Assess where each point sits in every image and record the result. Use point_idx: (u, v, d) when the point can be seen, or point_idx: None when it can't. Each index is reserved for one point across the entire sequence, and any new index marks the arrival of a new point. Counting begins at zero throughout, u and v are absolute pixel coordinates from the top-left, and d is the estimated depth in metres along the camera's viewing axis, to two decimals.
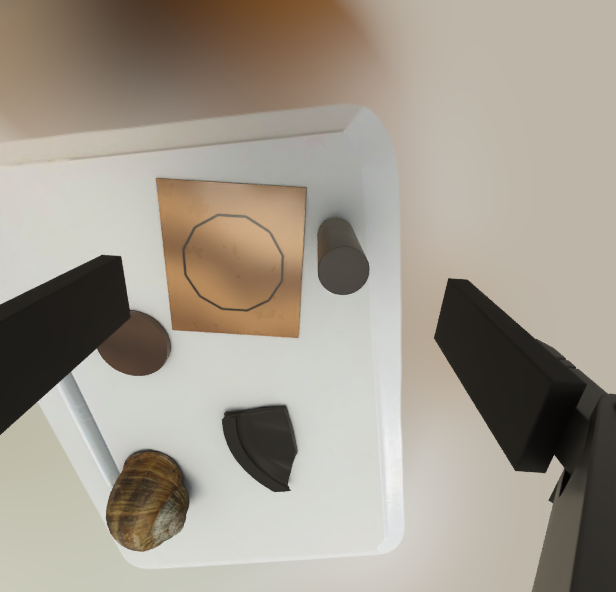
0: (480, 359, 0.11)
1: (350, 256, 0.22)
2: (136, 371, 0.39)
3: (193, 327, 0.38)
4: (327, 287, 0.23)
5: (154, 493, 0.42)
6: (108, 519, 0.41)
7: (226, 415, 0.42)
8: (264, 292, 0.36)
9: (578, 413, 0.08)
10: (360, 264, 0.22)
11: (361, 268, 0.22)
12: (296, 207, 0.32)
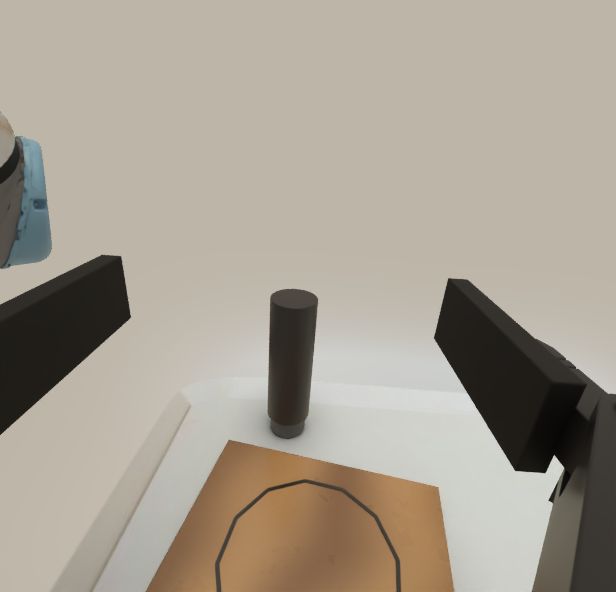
0: (480, 359, 0.11)
1: (281, 294, 0.25)
2: None
3: None
4: (308, 306, 0.23)
5: None
6: None
7: None
8: (361, 519, 0.22)
9: (578, 413, 0.08)
10: (290, 291, 0.26)
11: (294, 291, 0.26)
12: (246, 453, 0.26)
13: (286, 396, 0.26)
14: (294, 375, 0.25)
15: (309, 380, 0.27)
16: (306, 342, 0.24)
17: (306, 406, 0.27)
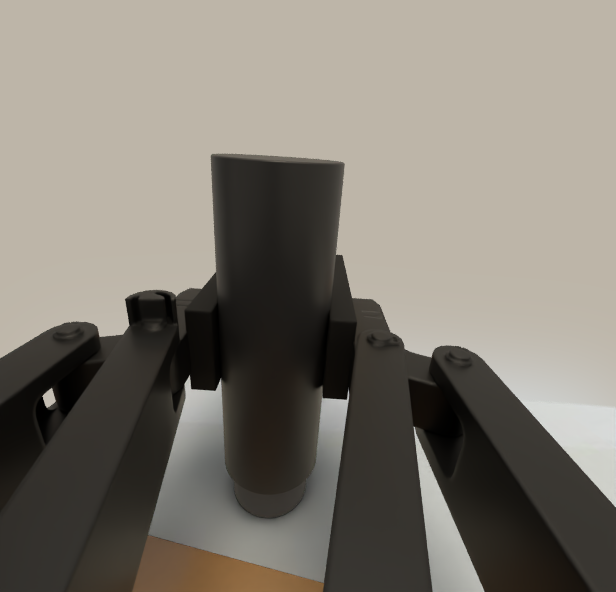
0: None
1: (245, 155, 0.09)
2: None
3: None
4: (318, 162, 0.08)
5: None
6: None
7: None
8: None
9: (353, 345, 0.10)
10: (270, 156, 0.10)
11: None
12: (163, 571, 0.10)
13: (263, 427, 0.10)
14: (280, 373, 0.09)
15: (319, 386, 0.11)
16: (312, 281, 0.09)
17: (312, 447, 0.12)
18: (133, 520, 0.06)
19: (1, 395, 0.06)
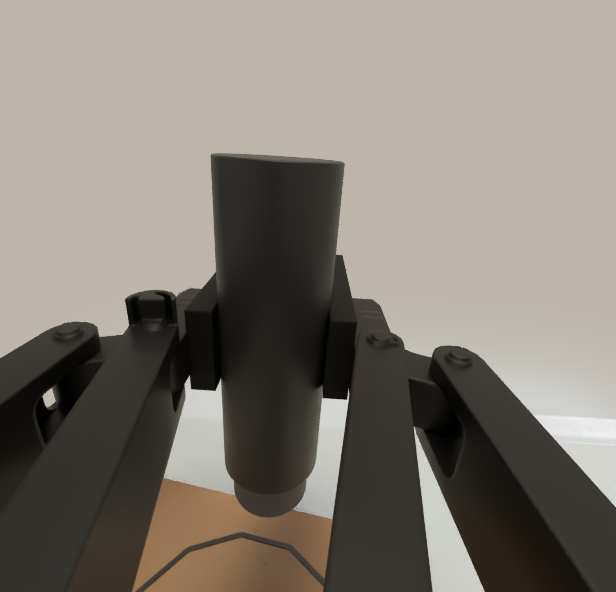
0: None
1: None
2: None
3: None
4: (318, 162, 0.08)
5: None
6: None
7: None
8: None
9: (353, 346, 0.10)
10: None
11: (280, 156, 0.10)
12: (170, 494, 0.20)
13: (263, 427, 0.10)
14: (280, 372, 0.09)
15: (319, 386, 0.11)
16: (312, 281, 0.09)
17: (312, 446, 0.12)
18: (133, 520, 0.06)
19: (1, 395, 0.06)
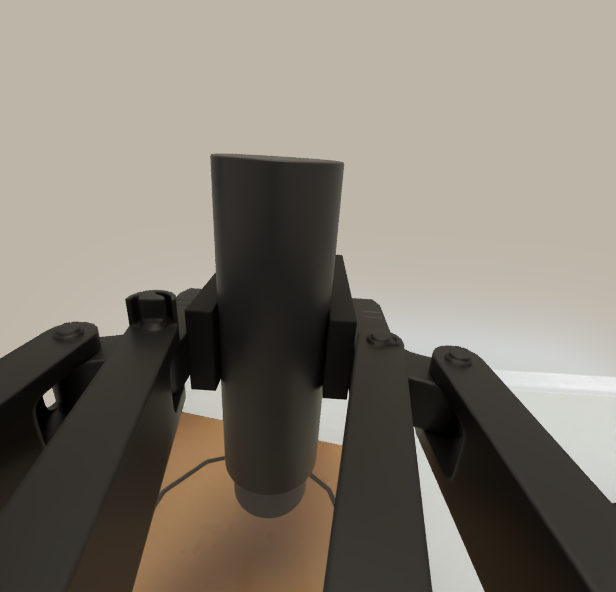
0: None
1: (245, 155, 0.09)
2: None
3: None
4: (318, 162, 0.08)
5: None
6: None
7: None
8: (312, 493, 0.19)
9: (353, 346, 0.10)
10: (270, 156, 0.10)
11: None
12: (190, 423, 0.23)
13: (263, 428, 0.10)
14: (280, 373, 0.09)
15: (319, 386, 0.11)
16: (312, 281, 0.09)
17: (312, 447, 0.12)
18: (133, 520, 0.06)
19: (1, 395, 0.06)
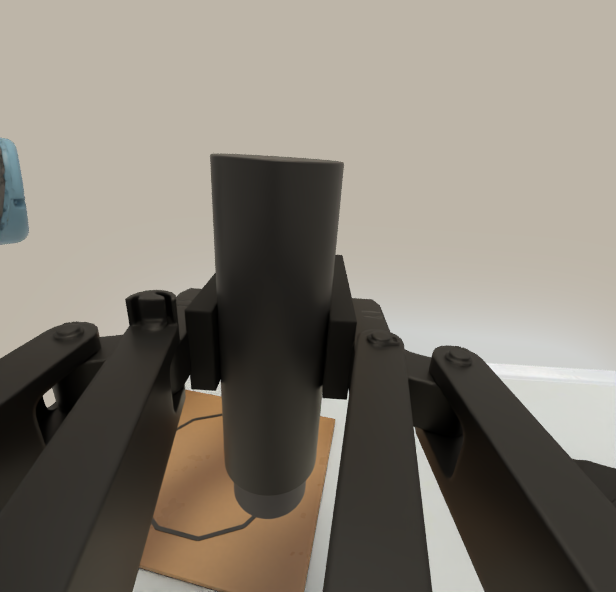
0: None
1: (244, 155, 0.09)
2: None
3: (300, 559, 0.20)
4: (317, 161, 0.08)
5: None
6: None
7: None
8: None
9: (353, 345, 0.10)
10: (270, 156, 0.10)
11: None
12: None
13: (263, 428, 0.10)
14: (280, 372, 0.09)
15: (319, 386, 0.11)
16: (312, 280, 0.09)
17: (312, 447, 0.12)
18: (133, 520, 0.06)
19: (1, 395, 0.06)
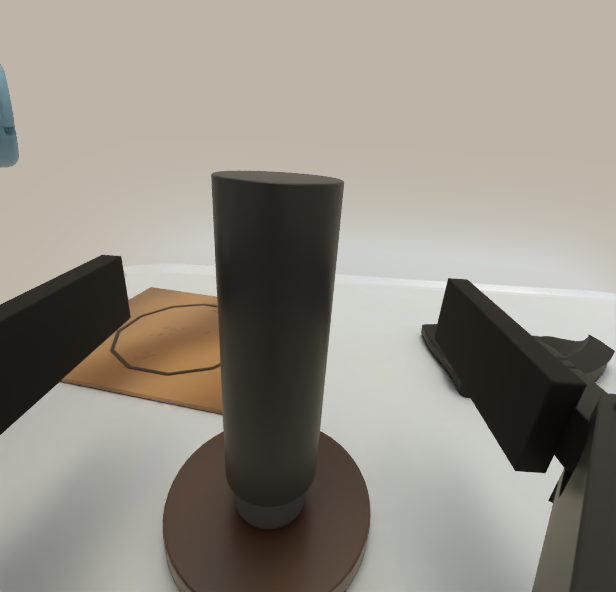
0: (480, 359, 0.11)
1: (245, 172, 0.09)
2: (353, 508, 0.13)
3: None
4: (318, 183, 0.08)
5: None
6: None
7: (460, 382, 0.22)
8: None
9: (578, 413, 0.08)
10: (270, 172, 0.10)
11: (280, 173, 0.10)
12: (162, 292, 0.33)
13: (263, 441, 0.10)
14: (281, 388, 0.10)
15: (319, 399, 0.11)
16: (313, 298, 0.09)
17: (312, 459, 0.12)
18: None
19: None
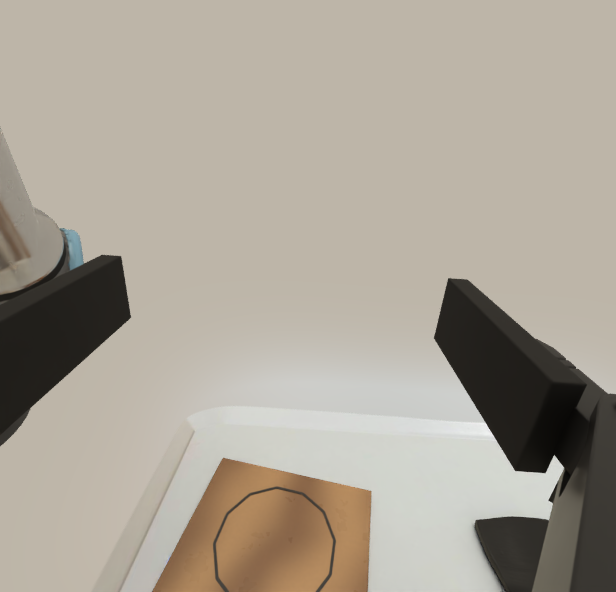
0: (480, 359, 0.11)
1: None
2: None
3: None
4: None
5: None
6: None
7: None
8: (313, 514, 0.32)
9: (578, 413, 0.08)
10: None
11: None
12: (235, 467, 0.36)
13: None
14: None
15: None
16: None
17: None
18: None
19: None
